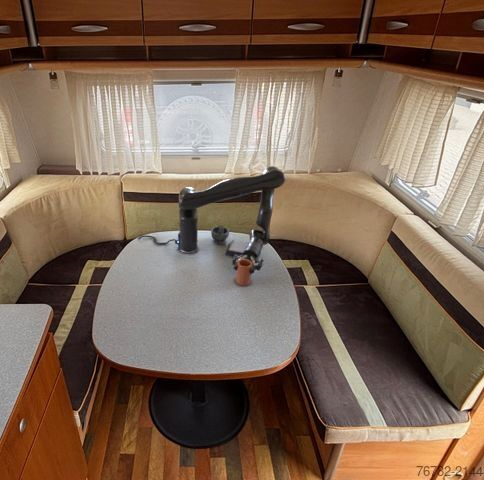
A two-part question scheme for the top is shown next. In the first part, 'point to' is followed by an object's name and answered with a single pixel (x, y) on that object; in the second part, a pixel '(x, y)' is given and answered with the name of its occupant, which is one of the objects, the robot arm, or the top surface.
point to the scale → (236, 248)
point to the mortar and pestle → (219, 234)
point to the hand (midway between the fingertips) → (243, 270)
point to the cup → (243, 272)
